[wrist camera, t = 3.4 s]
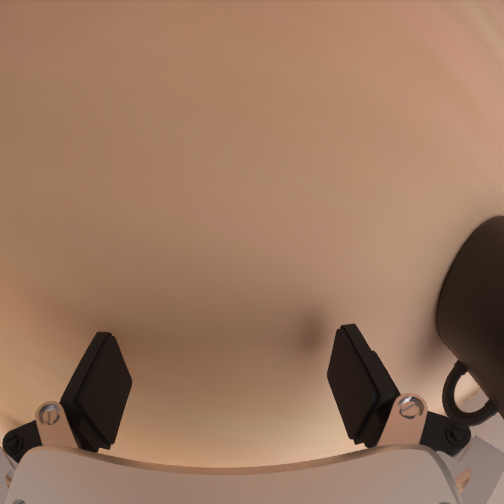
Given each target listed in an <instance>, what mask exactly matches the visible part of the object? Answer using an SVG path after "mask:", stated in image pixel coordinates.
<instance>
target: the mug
mask: <svg viewBox="0 0 504 504" xmlns="http://www.w3.org/2000/svg"><path fill="white" fill-rule="evenodd" d="M437 326H438V331H439V335H440V337H441V339H442V341H443V342H444V343H445V344H446V345H447V347H448V348H449V349H450V350H451V351H452V353H453V354H454V355H455V356H456V357H457V358H458V361H457V362H456V363H455V364H454V368H453V369H452V371H451V372H450V373H449V375H448V377H447V379H446V381H445V384H444V387H443V393H442V403H443V407H444V410H445V413H446V415H447V416H448V417H449V418H452V419H455V420H459V421H462V422H464V423H465V424H466V425H467V426H468V427H471V426H475V425H479V424H481V423H483V422H484V421H486V420H487V419H489V418H490V417H492V416H494V415H495V414H496V413H497V412H499V413H500V415H501V416H502V418H503V419H504V216H500V217H495V218H492V219H490V220H488V221H487V222H485V223H484V224H482V225H481V226H480V227H479V228H478V229H477V230H476V231H475V232H474V234H473V235H472V236H471V237H470V238H469V240H468V241H467V242H466V244H465V245H464V247H463V248H462V250H461V252H460V253H459V255H458V257H457V258H456V260H455V262H454V264H453V266H452V268H451V270H450V272H449V275H448V277H447V279H446V282H445V284H444V287H443V290H442V293H441V297H440V301H439V305H438V311H437ZM467 371H468V372H469V373H470V375H471V376H472V377H473V378H474V380H475V381H476V382H477V383H478V385H479V386H480V387H481V389H482V390H483V391H484V393H485V394H486V395H487V397H488V398H489V400H488V401H487V403H485V406H484V407H483V408H481V409H480V410H478V411H476V412H472V413H467V412H463V411H461V410H460V409H459V408H458V407H457V405H456V403H455V399H454V391H455V387H456V384H457V382H458V380H459V379H460V377H461V376H462V375H465V373H466V372H467Z"/></svg>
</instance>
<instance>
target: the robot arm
mask: <svg viewBox="0 0 504 504" xmlns="http://www.w3.org/2000/svg"><path fill="white" fill-rule="evenodd" d="M327 378H328V382H329V384H330V387H331V390H332V393H333V395H334V398H335V401H336V403H337V406H338V409H339V412H340V414H341V417H342V420H343V423H344V426H345V428H346V431H347V434H348V437H349V439H353V440H354V443H355V445H357V444H360V443H364V444H365V447H367V449H364V450H360V451H355V452H351V453H347V454H342V455H338V456H333V457H328V458H322V459H317V460H311V461H305V462H298V463H291V464H282V465H273V466H261V467H243V468H201V467H183V466H171V465H162V464H154V463H146V462H140V461H134V460H128V459H123V458H118V457H113V456H108V455H103V454H99V453H98V450H99V448H103V449H108V450H110V447H111V444H114V443H115V439H116V436H117V432H118V429H119V425H120V422H121V418H122V415H123V412H124V408H125V405H126V402H127V399H128V395H129V392H130V389H131V386H132V379H131V376H130V374H129V371H128V369H127V367H126V364H125V362H124V359H123V357H122V354H121V351H120V349H119V346H118V343H117V341H116V338H115V337H114V336H112V334H111V333H109V332H97V333H96V335H95V337H94V338H93V340H92V342H91V343H90V345H89V347H88V349H87V350H86V352H85V354H84V356H83V357H82V359H81V361H80V363H79V365H78V367H77V368H76V370H75V372H74V374H73V376H72V378H71V380H70V382H69V384H68V386H67V388H66V389H65V391H64V393H63V395H62V398H61V401H60V403H58V402H55V401H48V402H45V403H43V404H42V405H40V406H39V407H38V409H37V411H36V414H35V417H36V420H34V421H32V422H30V423H27V424H25V425H23V426H21V427H18V428H16V429H13V430H11V431H9V432H8V433H7V434H6V435H5V436H4V439H3V447H2V448H1V447H0V504H486V503H487V501H488V499H489V497H490V496H491V494H492V492H493V490H494V488H495V486H496V485H497V482H498V481H499V479H500V476H501V475H502V473H503V470H504V453H503V452H502V451H500V450H498V449H497V448H495V447H493V446H492V445H490V444H488V443H487V442H485V441H484V440H482V439H481V438H479V437H477V436H476V435H475V436H474V437H472V436H471V432H470V429H469V427H468V426H467V425H466V424H465V423H464V422H462V421H459V420H455V419H452V418H449V417H446V416H442V415H439V414H436V413H433V412H430V411H427V410H428V407H427V404H426V402H425V401H424V399H423V398H421V397H420V396H418V395H416V394H411V393H407V394H403V395H401V394H400V392H399V391H398V389H397V387H396V385H395V384H394V382H393V380H392V379H391V377H390V375H389V373H388V372H387V370H386V368H385V367H384V365H383V363H382V362H381V360H380V358H379V357H378V355H377V354H376V352H375V351H371V349H370V347H369V346H368V344H367V342H366V341H365V339H364V337H363V336H362V334H361V332H360V331H359V329H358V328H357V326H356V325H355V324H348V325H342V326H341V327H340V329H337V331H336V335H335V340H334V345H333V350H332V354H331V359H330V363H329V367H328V371H327Z"/></svg>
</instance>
